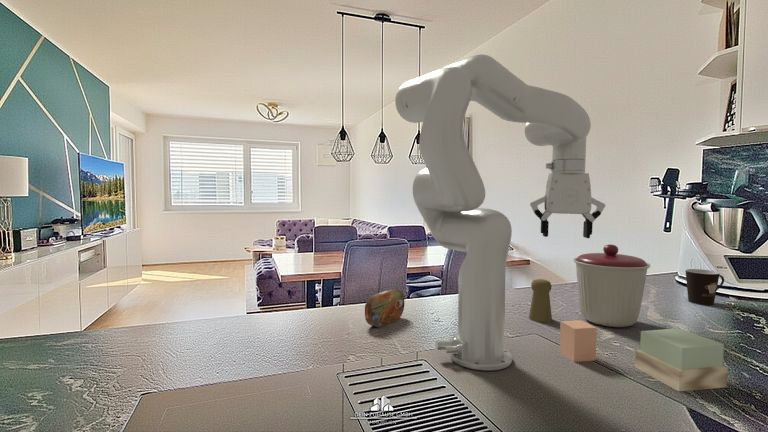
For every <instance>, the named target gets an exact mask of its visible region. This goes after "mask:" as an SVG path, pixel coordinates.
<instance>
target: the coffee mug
mask: <svg viewBox="0 0 768 432" xmlns="http://www.w3.org/2000/svg"><path fill="white" fill-rule="evenodd" d="M720 278H721V283H720V284H719V279H720ZM685 279H686V281H685V282H686V289H687V300H688V302H689V303H691V304H695V305H700V306H713V305H714V304H715V300H716V294H717V290H719V289H720V288H722V286H723V285H724V283H725V278H724V276H723V275H722V274H721V273H720V272H719V271H715V270H710V269H703V268H702V269H701V268H686V269H685Z"/></svg>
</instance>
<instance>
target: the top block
mask: <svg viewBox="0 0 768 432" xmlns="http://www.w3.org/2000/svg"><path fill="white" fill-rule="evenodd" d="M639 345H640V347H639V350H640V351H641V352H644V353H646V354H648V355H650V356H652V357H654V358H656V359H658V360H661V361H663V362H665V363H667V364H669V365H671V366H673V367H675V368H678V369H680V370H688V369H698V368H708V367H718V366H724V349H725V344H723V343H721V342H718V341H716V340H713V339H710V338H707V337H704V336H702V335H699V334H695V333H693V332H690V331H688V330H685V329H683V328H682V329H681V328H678V327H677V328H665V329H651V330H641V331H640V344H639Z"/></svg>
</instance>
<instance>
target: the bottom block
mask: <svg viewBox="0 0 768 432" xmlns="http://www.w3.org/2000/svg"><path fill="white" fill-rule="evenodd" d="M634 360H635V361H634V362H635V364H634V365H635V366H634V368H636V369H637V370H639V371H641V372H642V373H645V374H646V375H648V376H650V377H652V378H654V379H655V380H658V381H659V382H661V383H662V384H665V385H666V386H668V387H669V388H672V389H673V390H675V391H678V392H687V391H689V392H690V391H698V390H699V391H700V390H709V389H722V388H727V387H728V376H729V375H728V374H729V373H728V372H729V371H728V370H729V368H728V367H727V366H725V365H723V366H718V367H708V368H698V369H688V370H680V369H678V368H675V367H673V366H671V365H669V364H667V363H665V362H663V361H661V360H658V359H656V358H654V357H652V356H650V355H648V354H646V353H644V352H641V351H640V349H636V350H635V359H634Z"/></svg>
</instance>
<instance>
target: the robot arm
mask: <svg viewBox="0 0 768 432" xmlns="http://www.w3.org/2000/svg"><path fill="white" fill-rule="evenodd" d="M394 100H395V101H394V102H395V108H396V110H397V113H398V115H399V116H400V117H401V118H402V119H403V120H405V121H407V122H409V123H413V124H417V123H422V125H421V129H420V132H419V133H420V135H419V152H420V155H421V157H422V160H423V162H424V164H425V167H424V168H422V169H420V171H419V172H418V173H416V175H415V177H414V179H413V183H412V196H413V200H414V204H415V206H416V208H417V210H418V212H419V214H420V215H421V217H422V218H423V221H424V222H425V224H426V226H427V228H428V230H429V231H430V233H431V236H432V237H433V238H434V240H435V241H436V242H437V244H439V245H440V246H441V247H442V248H445V249H448V250H452V251H457V252H463V253H466V255H465V258H464V260H463V262H462V264H461V266H460V267H459V272H458V276H457V277H458V283H457V284H458V299H457V300H458V302H457V303H458V306H457V307H458V308H457V312H458V313H457V317H458V318H457V333H453V338H449V339H448V340H435V344H434V345H435V349H436V351H444V352H445V354H450V358H451V360H452V361H453V362H454V363H456V364H457V365H459V366H462V367H464V368H467V369H471V370H477V371H490V372H491V371H499V370H502V369H506V368H507V367H510V365H511V364H512V362H513V356H512V354H511V352H510V351H509V350H507V349H505V333H506V331H505V330H506V328H505V325H506V324H505V322H506V321H505V320H506V319H505V318H506V274H507V273H506V272H507V271H506V270H507V262H508V254H509V249H510V246H511V245H510V244H511V240H512V232H513V229H512V225H511V222H510V220H509V218H508V217H507V216H506V215H505V214H504V213H502V212H501V211H498V210H496V209H493V208H492V209H491V208H483V207H481V206H482V205H483V204H484V201H485V198H486V188H485V185H484V182H483V179H482V177H481V175H480V172H479V171H478V168H477V166H476V163H475V161H474V159H473V158H472V155H471V152H470V150H469V148H468V146H467V143H466V141H465V136H464V122H465V117H466V115H467V114H466V113H467V111H468V107H469V105H470V102H475V103H477V104H478V105H480V106H482V107H484V108H485V109H486V110H488V111H490V112H491V113H492V114H494V115H496V116H497V117H499V118H500V119H501V120H503V121H506V122H512V123H518V124H519V123H522V124H525V126H524V136H525V138H526V140H527V141H528V142H529V143H530V144H531V145H533V146H537V147H546V146H551V147H552V154H551V155H552V156H551V157H552V158H551V159H552V160H551V162H548V163H545V169H546V170H550V172H551V173H549V174H548V176H547V181H546V187H545V194H544V196H541V197H540V198H538V199H536V200H533V201H531V202H530V203H529V206H530V207H531V210H532V211H533V214H534V215H535V216H536V217H537V218H538V219H539V220H540V233H541V234H542V236H543V237H545V238H548V237H549V220H548V218H549V217H550V216H551V215H552V214H559V215H560V214H561V215H562V214H563V215H564V214H567V215H568V214H569V215H581V216H582V217H583V218H584V219H585V220H584V221H583V231H582V236H583V238H586V239H590V238H591V236H592V234H593V224H594V222H595V220H596V219H598V217H600V216H601V214H602V213H603V211H604V209H605V208H606V204H605V203H604V202H601V201H599V200H597V199H595V198H594V197H592V188H591V186H592V185H591V179H590V174H589V173H588V172H587V173H586V157H587V156H586V155H587V154H586V153H587V137H588V135H589V133H590V131H591V128H592V127H591V126H592V125H591V124H592V123H591V118H590V116H589V114H588V112H587V111H586V109H585V108H583V106H582V105H581V104H580V103H578V102H577V101H576V100H575V99H574V98H572V97H570V96H569V95H566V94H564V93H562V92H558V91H554V90H549V89H546V88H543V87H538V86H534V85H533V86H532V85H529V84H527V83H526V82H524V81H523V80H521V78H519V77H518V76H517V75H515V74H514V73H513V72H511V71H510V70H509V69H508V68H506V67H505V66H504V65H503V64H501V63H500V62H499V61H497V59H495V58H494V57H492V56H490V55H487V54H480V53H479V54H475V55H472V56H469V57H466V58H463V59H460V60H458V61H456V62H453V63H450V64H447V65H445V66H442V67H441V68H439V69H435V70H434V71H431V72H428V73H425V74H424V75H421V76H418V77H415V78H413V79H409V80H407V81H405V82H404V83H402V84H401V86H400V87H399V88H398V89H397V92H396V95H395V98H394ZM543 203H544V205H543V206H544V211H543V212H542V211H540V209H539V207H538V206H539V205H541V204H543ZM592 205H593V206H596V208H595V210H594V211H593V212H592V213H591V211H592Z"/></svg>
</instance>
